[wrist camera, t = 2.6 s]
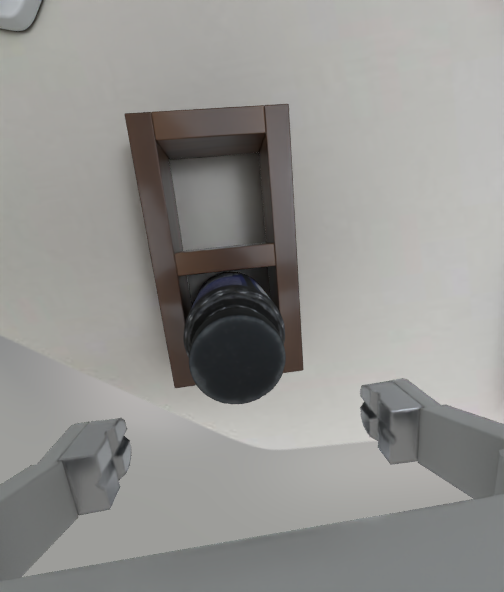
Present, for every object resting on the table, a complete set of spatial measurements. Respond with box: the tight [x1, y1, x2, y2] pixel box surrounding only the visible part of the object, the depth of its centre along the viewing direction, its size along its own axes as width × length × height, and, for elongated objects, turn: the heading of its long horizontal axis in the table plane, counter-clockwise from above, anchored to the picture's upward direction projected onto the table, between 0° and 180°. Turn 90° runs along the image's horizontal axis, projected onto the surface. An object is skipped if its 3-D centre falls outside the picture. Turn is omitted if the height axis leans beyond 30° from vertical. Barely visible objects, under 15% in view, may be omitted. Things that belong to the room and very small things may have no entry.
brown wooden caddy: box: [125, 104, 303, 388], centre depth 20 cm, size 10×19×4 cm, turn 5°
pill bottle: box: [183, 271, 286, 404], centre depth 17 cm, size 6×6×11 cm
